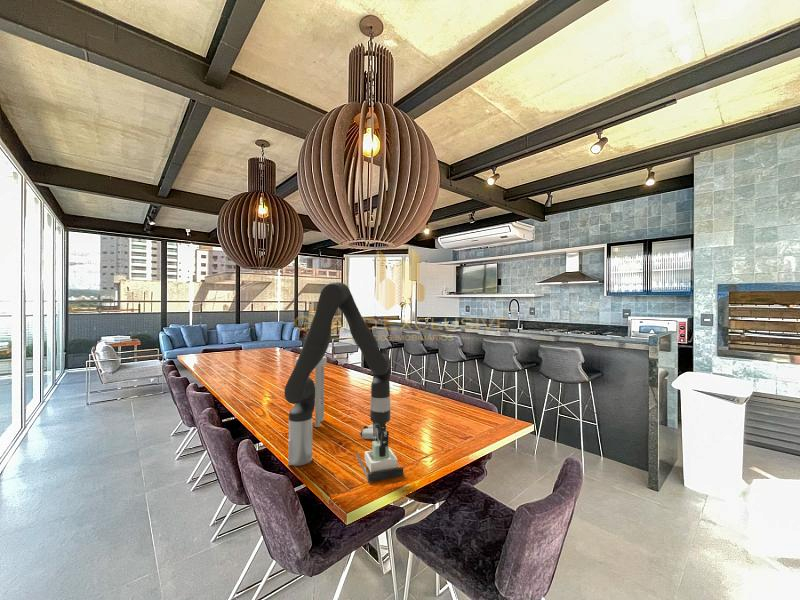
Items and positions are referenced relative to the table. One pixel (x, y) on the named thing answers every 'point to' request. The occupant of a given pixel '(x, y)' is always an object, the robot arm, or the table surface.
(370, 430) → the robot toy
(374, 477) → the track
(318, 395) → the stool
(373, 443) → the block
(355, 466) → the table surface
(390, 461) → the white square tray
